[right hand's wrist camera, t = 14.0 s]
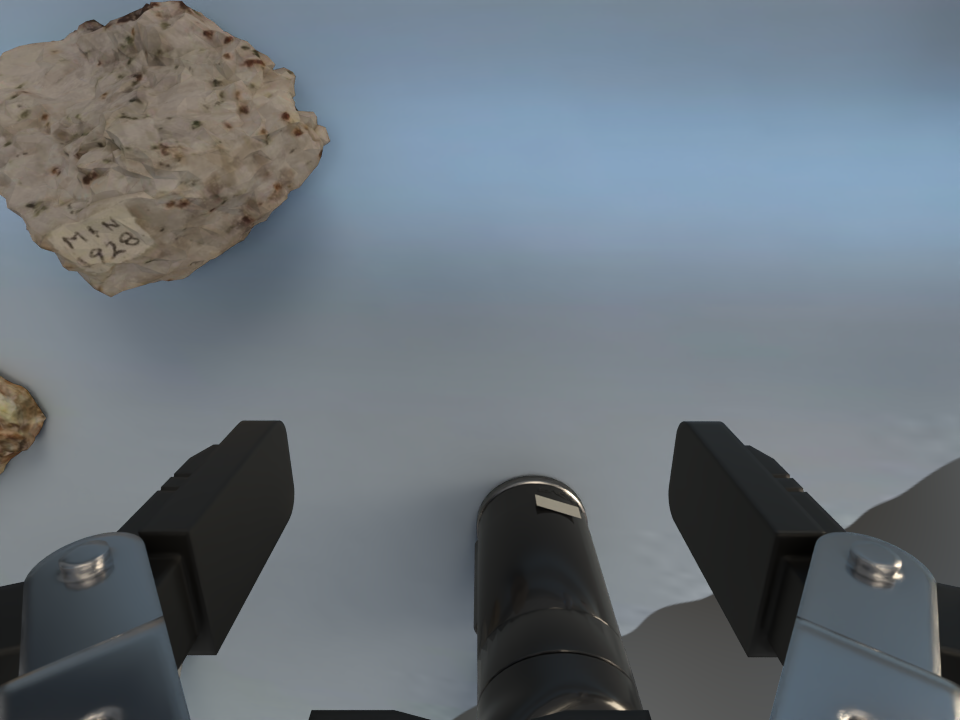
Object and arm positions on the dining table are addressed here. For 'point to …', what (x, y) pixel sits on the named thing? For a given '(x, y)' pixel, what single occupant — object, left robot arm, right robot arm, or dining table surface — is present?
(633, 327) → the dining table surface
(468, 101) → the dining table surface
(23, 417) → the stone
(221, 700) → the dining table surface
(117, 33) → the rock
